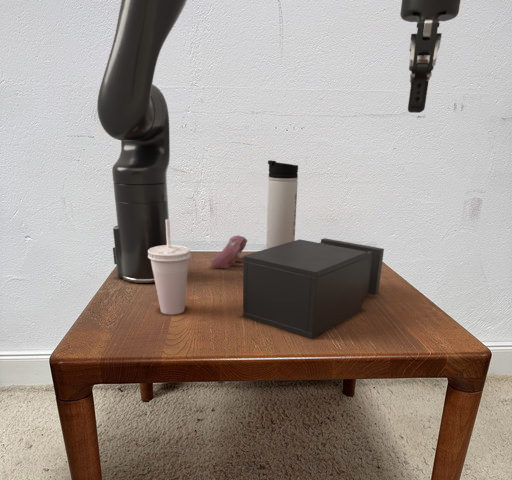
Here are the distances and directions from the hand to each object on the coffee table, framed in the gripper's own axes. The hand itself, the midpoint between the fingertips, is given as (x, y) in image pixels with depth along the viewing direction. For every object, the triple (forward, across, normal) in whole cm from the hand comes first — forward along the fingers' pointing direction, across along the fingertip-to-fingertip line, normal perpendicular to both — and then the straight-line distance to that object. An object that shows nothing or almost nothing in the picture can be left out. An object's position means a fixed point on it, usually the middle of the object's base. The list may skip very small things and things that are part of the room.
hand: (415, 112), depth 71 cm
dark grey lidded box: (+29, +10, -13) cm, 33 cm away
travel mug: (+29, -24, -25) cm, 46 cm away
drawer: (+28, +1, -9) cm, 30 cm away
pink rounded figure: (+29, -13, -33) cm, 46 cm away
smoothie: (+29, +16, -33) cm, 47 cm away
